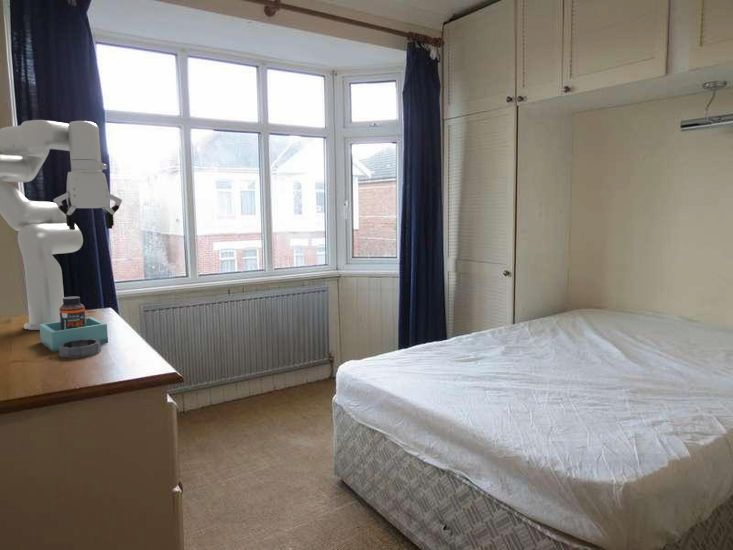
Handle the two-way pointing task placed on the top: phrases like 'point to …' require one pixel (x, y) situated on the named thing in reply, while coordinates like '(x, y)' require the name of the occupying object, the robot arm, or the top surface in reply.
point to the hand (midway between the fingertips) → (91, 229)
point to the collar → (79, 348)
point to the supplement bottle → (72, 313)
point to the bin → (72, 333)
